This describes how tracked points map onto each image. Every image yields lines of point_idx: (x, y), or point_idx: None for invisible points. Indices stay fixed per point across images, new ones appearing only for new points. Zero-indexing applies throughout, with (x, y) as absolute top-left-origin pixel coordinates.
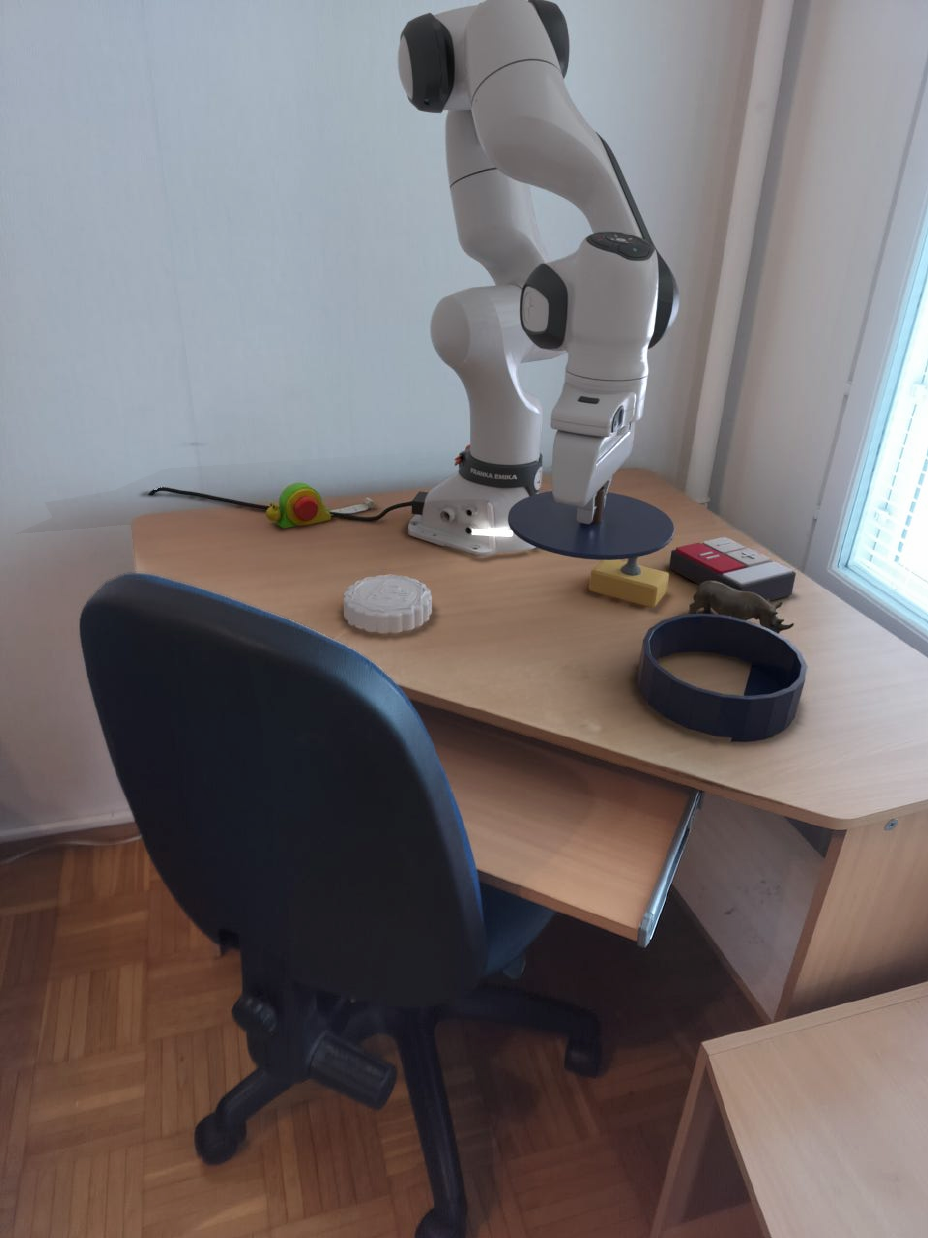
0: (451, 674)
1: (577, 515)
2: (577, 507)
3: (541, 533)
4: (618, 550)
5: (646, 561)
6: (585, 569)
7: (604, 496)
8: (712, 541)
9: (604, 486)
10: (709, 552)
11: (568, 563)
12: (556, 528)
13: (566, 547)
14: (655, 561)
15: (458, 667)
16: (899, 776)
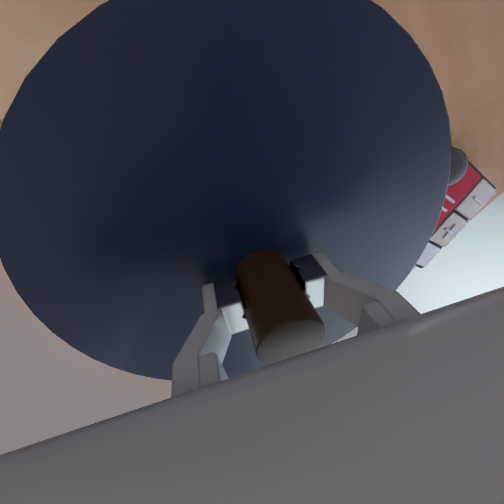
0: (17, 40)
1: (203, 295)
2: (201, 315)
3: (71, 247)
4: (162, 369)
5: (456, 119)
6: (421, 51)
7: (325, 304)
8: (484, 187)
9: (348, 316)
10: (452, 200)
11: (437, 9)
12: (145, 252)
13: (74, 325)
14: (457, 129)
15: (44, 38)
16: None
